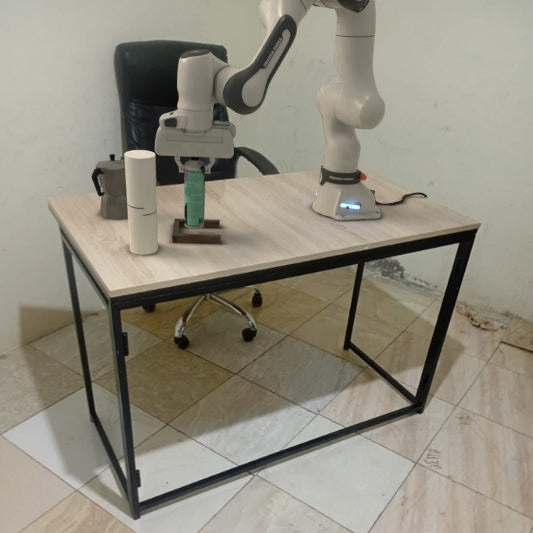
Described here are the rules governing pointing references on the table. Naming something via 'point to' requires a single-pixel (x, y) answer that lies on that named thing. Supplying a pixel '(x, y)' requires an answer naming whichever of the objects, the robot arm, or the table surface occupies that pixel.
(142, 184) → the cylindrical container
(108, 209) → the coffeepot
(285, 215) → the table surface
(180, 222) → the frame
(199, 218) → the spray can
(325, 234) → the table surface
